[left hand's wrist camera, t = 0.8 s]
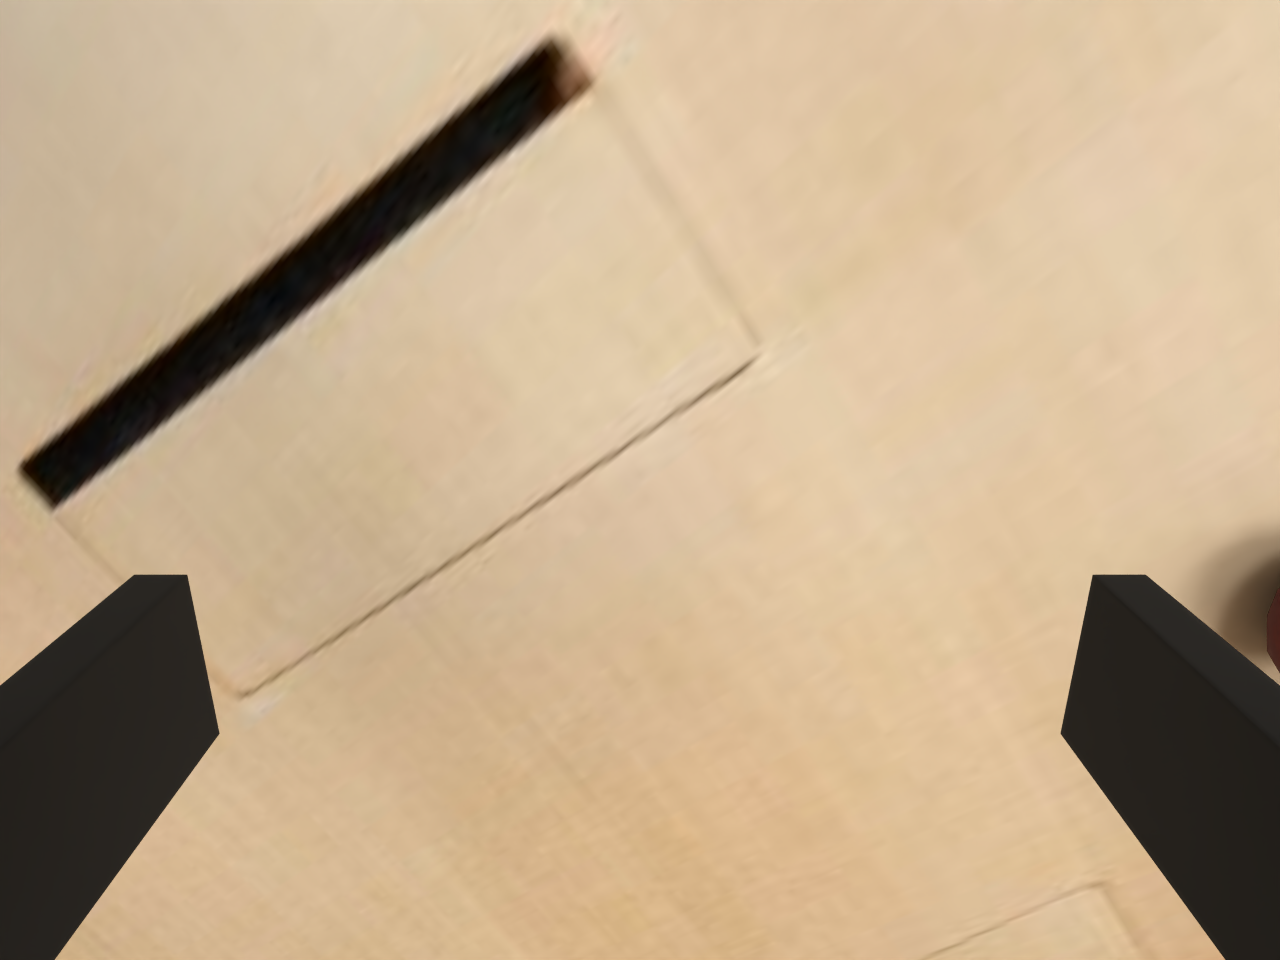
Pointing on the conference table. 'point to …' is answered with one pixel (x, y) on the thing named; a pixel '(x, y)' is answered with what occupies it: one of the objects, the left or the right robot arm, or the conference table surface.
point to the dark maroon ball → (1274, 630)
